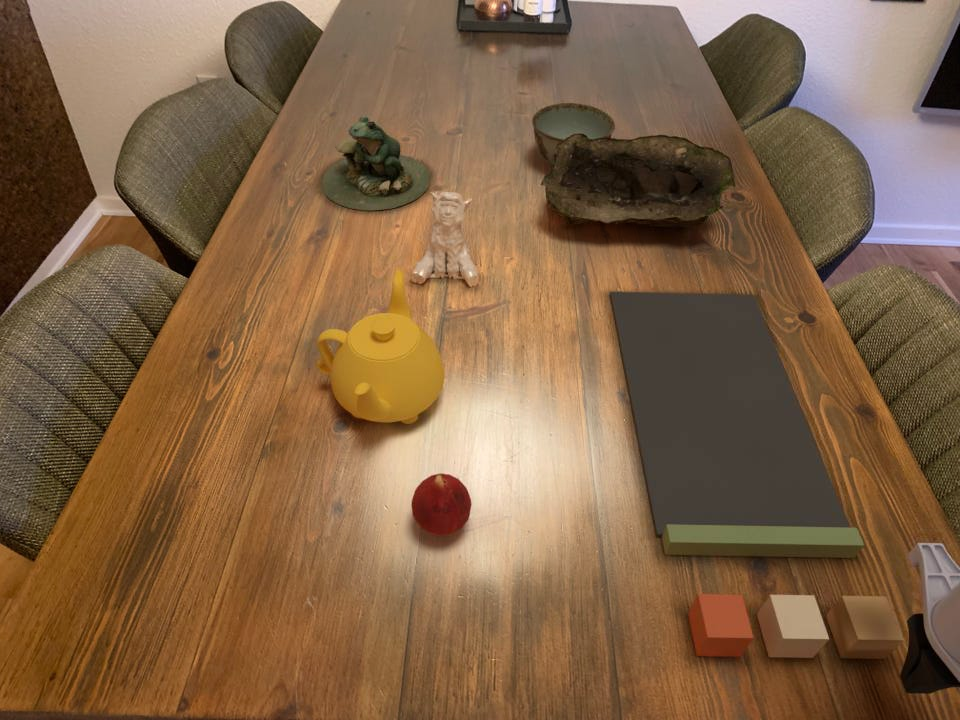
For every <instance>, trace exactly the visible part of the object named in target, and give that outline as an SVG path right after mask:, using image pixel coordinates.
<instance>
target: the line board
mask: <svg viewBox="0 0 960 720" xmlns="http://www.w3.org/2000/svg"><path fill="white" fill-rule="evenodd" d="M609 297H610V303H611V308H612V313H613V319H614V323H615V328H616V329H615V330H616V334H617V339H618V344H619V351H620V354H621V360H622V365H623V370H624V375H625V381H626V386H627V391H628V397H629V402H630V408H631V411H632V417H633V422H634V427H635V431H636V432H635V434H636V438H637V443H638V448H639V454H640V459H641V464H642V469H643V474H644V475H643V476H644V480H645V486H646V490H647V495H648V500H649V505H650V506H649V507H650V510H651V516H652V521H653V526H654V532H655V537H656V538H661V541H662V542H661V543H662V547H663V552H664V555H665V556H706V557H707V556H711V557H712V556H713V557H765V558H766V557H767V558H769V557H771V558H827V559H829V558H830V559H832V558H833V559H836V558H837V559H855V558H856V557H857V556H858V554H859V553H860V552H861V550H862V549H863V548H864V547H865V543H864V541H863V538H862V536H861V534H860V531H859V529H858V527H851V526H850V524H849V521H848V519H847V517H846V514H845V512H844V509H843V507H842V505H841V502H840V500H839V496H838V494H837V492H836V490H835V487H834V486H833V483H832V480H831V477H830V475H829V473H828V470H827V468H826V465H825V464H824V461H823V459H822V456H821V454H820V451H819V449H818V447H817V444H816V441H815V439H814V437H813V434H812V432H811V429H810V427H809V425H808V421H807V420H806V417H805V415H804V412H803V410H802V407H801V405H800V403H799V401H798V397H797V396H796V393H795V390H794V388H793V385H792V383H791V381H790V379H789V376H788V374H787V371H786V368H785V366H784V364H783V361H782V359H781V357H780V354H779V352H778V350H777V347H776V345H775V343H774V339H773V337H772V335H771V332H770V330H769V328H768V326H767V323H766V321H765V318H764V316H763V313H762V310H761V309H760V306H759V303H758V301H757V299H756V296H755V294H738V293H737V294H735V293H696V292H695V293H690V292H689V293H688V292H687V293H686V292H644V291H643V292H642V291H610V292H609Z"/></svg>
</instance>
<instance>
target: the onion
mask: <svg viewBox="0 0 960 720" xmlns="http://www.w3.org/2000/svg"><path fill="white" fill-rule="evenodd" d="M410 506H411V513H412V517H413V519H414V521H415V522H416V524H418V526H419V527H420V529H422V530H424V531H425V532H427V533H428V534H430V535H433V536H438V537H443V536H450V535H452V534H454V533H456V532H458V531H460V530H461V529H462V528H463V527H464V526H465V524H467V522H468V521H469V519H470V514H471V511H472V510H471V509H472V499H471V496H470V493H469V490H468V488H467V487H466V485H464V483H463V482H462V481H461V480H460V479H459V478H458V477H455V476H453V475H451V474H448V473H441V472H440V473H435V474H431V475H429V476H428V477H427V478H425V479H423V480H422V481H421V482H420V484H418V486H417V487H416V488H415V490H414V493H413V495H412V499H411V505H410Z"/></svg>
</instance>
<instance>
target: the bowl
mask: <svg viewBox="0 0 960 720" xmlns="http://www.w3.org/2000/svg"><path fill="white" fill-rule="evenodd" d="M531 123H532V127H533V134H534V135H533V136H534V140H535V144H536V147H537V150H538V151H539V153H540V155H541V156H542V157H543V158H544V159H545V160H546V162H548V163H550V164H551V167H552V168H553V167H554V163H555V159H556V154H557V153H558V148H557V149H556V146H557V144H559V143H560V142H562V141H563V140H564V139H566V138H567V137H570V136H571V135H573V134H579V133H583V134H585V135H586V136H587V137H588V138H589V139H597V138H604V137H606V138H612V135H613V133H614V131H615V130H616V125H615V121H614V119H613V118H612V117H611V116H610V115H609V113H607V112H605V111H603V110H602V109H600V108H597V107H595V106H591V105H589V104H583V103H577V102H575V103H574V102H561V103H555V104H550V105H548V106H545V107H542V108H540V109H539V110H538V111H537V112H536V113H535V114H533V117H532V122H531Z"/></svg>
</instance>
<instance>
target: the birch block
mask: <svg viewBox="0 0 960 720" xmlns="http://www.w3.org/2000/svg"><path fill="white" fill-rule="evenodd" d="M825 618H826V620H827V623H828V626H829V629H830V632H831V635H832V637H833V638H832V639H833V640H834V644H835V646H836V650H837V652H838V655H839V657H840V659H864V660H865V659H867V660H868V659H869V660H870V659H873V660H885V659H886V658H887V657H888V656H890V655H891V653H892V652H894V651H895V650H896V649H897V648H898V647H899V646H900V645H901V644H903V642H905V638H904V635H903V633H902V630H901V628H900V626H899V624H898V622H897V619H896V617H895V614H894V612H893V609H892V607H891V605H890V601H889V600H888V598H887V596H886V595H885V596H884V595H880V596H879V595H841V597H839V599H838V600H837V601H836V602H835V603H834V605H833V606H832V608H830V609H829V611H828V612H827V613H826V614H825Z"/></svg>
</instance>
